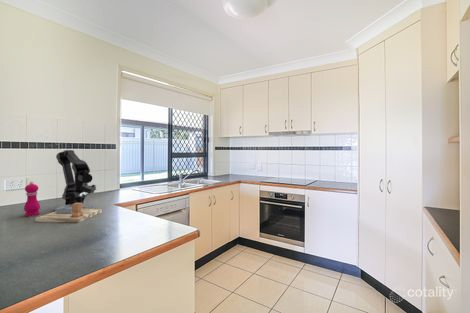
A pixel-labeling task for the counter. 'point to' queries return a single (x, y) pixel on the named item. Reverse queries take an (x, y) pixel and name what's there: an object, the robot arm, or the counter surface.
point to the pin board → (67, 216)
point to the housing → (64, 210)
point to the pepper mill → (31, 200)
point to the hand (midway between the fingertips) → (80, 206)
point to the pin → (76, 209)
